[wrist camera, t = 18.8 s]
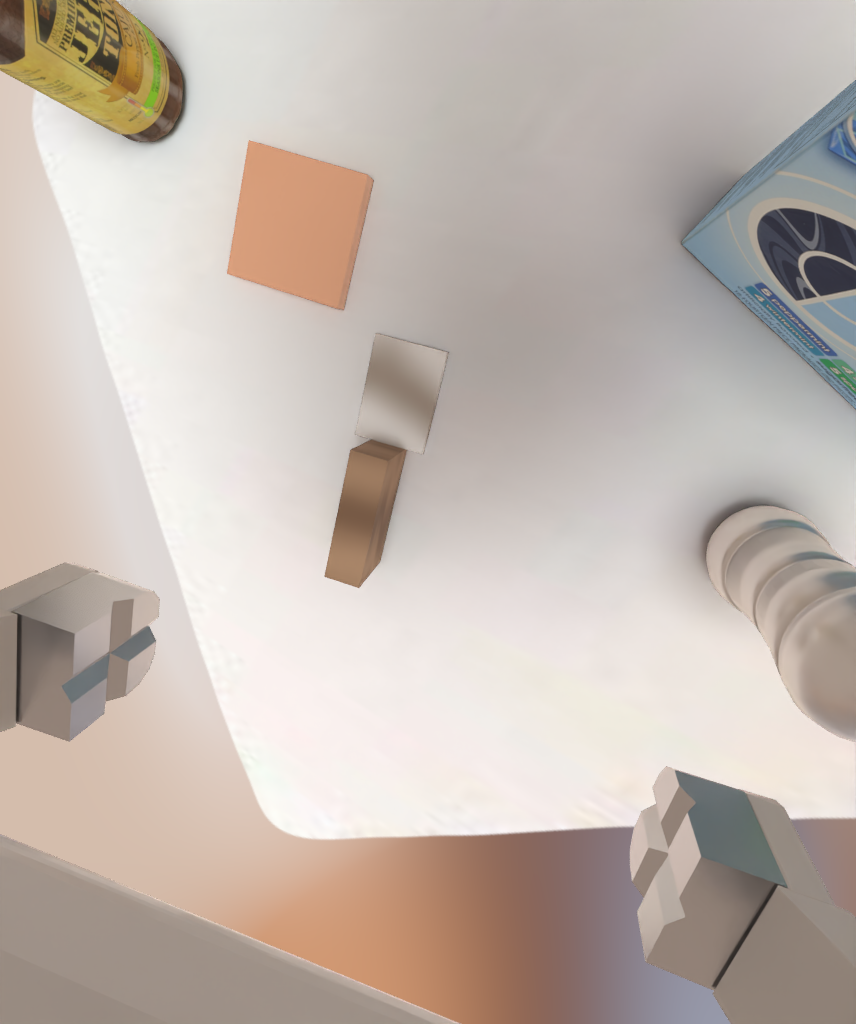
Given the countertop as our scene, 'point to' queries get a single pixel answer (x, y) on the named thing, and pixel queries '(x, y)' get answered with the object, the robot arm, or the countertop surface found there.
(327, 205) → the tile
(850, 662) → the plastic bottle
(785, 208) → the gum box
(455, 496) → the countertop surface
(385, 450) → the turner
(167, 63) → the sauce bottle
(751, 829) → the robot arm
